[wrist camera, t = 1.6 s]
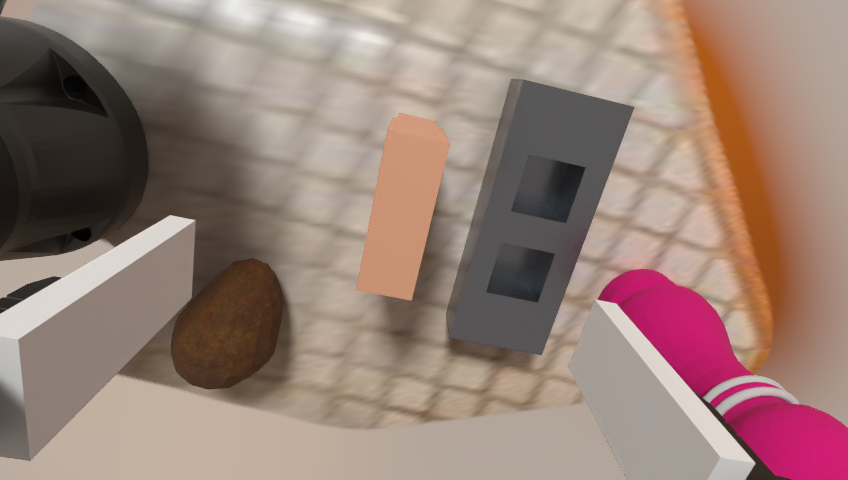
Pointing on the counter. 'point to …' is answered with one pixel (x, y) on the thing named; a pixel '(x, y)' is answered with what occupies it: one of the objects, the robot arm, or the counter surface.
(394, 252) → the peach wedge-cut bar
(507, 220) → the rail
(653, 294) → the pepper mill
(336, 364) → the counter surface
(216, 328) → the potato
